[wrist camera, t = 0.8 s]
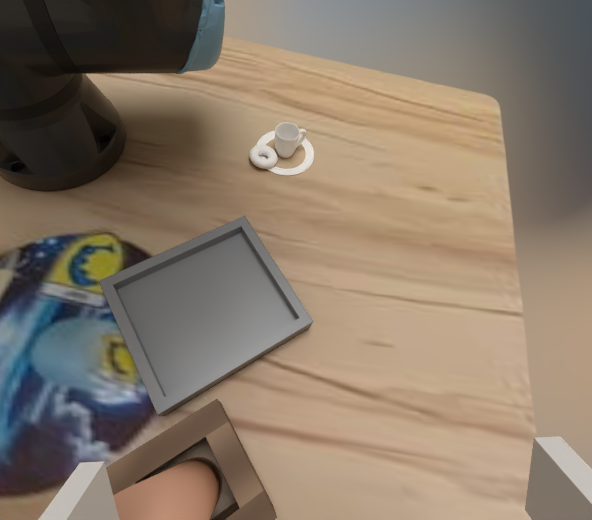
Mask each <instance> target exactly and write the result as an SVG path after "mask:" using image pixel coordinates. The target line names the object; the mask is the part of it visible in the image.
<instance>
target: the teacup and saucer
mask: <svg viewBox="0 0 592 520" xmlns="http://www.w3.org/2000/svg"><path fill="white" fill-rule="evenodd" d="M302 132H304V133H303V135H300V133H302ZM305 137H306V131H305V130H304V129H299V128H298V127H297V126H296V125H295V124H293V123H290V122H283V123H280V124H278V125H277V126H276V129H275V131H271V132H269V133H266V134H265V135H263V136H262V137H261V138H260V139H259V140H258V142H257V144H256V146H255V147H253V148H252V149H251V150H250V153H249V157H250V160H251V161H252V163H253V164H254V165H255V166H257V167H259V168H263V169H267V170H269V171H270V172H273V173H275V174H279V175H285V176H290V175H297V174H300V173H302V172H304V171H306V170H307V169H308V168H309V167H310V166H311V164H312V163H313V160H314V150H313V147H312V145H311V144H310V142H309V141H308V140H307V139H306V138H305ZM274 138H275V148H276V151H277V153H278V155H279V156H281V157H283V158H288V157H290V156H292V154H293V153H294V151H295V149H296V148H297V147H298V146H299V145H300V144H302V145H303V147H304V149H305V151H306V157H305V160H304V162H303V163H302V164H301V165H299V166H298V167H296V168H292V169H282V168H278V167H276V166H274V165H275V164H276V163H277V154H276V152H275V151H274V150H273V149H272V148H270V147H268V146H266V144H267V143H268V142H269V141H270V140H272V139H274ZM265 155H266V156H267V157H268V159H266V157H265Z"/></svg>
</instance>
